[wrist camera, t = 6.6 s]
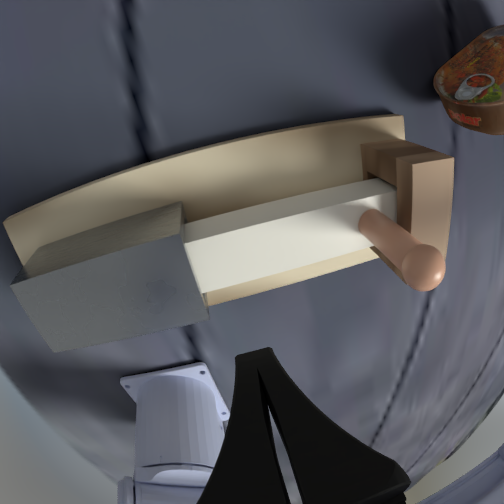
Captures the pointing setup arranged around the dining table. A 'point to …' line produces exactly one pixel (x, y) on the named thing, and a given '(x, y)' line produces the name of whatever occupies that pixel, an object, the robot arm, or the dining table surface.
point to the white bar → (308, 236)
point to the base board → (218, 188)
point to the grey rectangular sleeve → (113, 282)
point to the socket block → (414, 189)
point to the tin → (475, 84)
